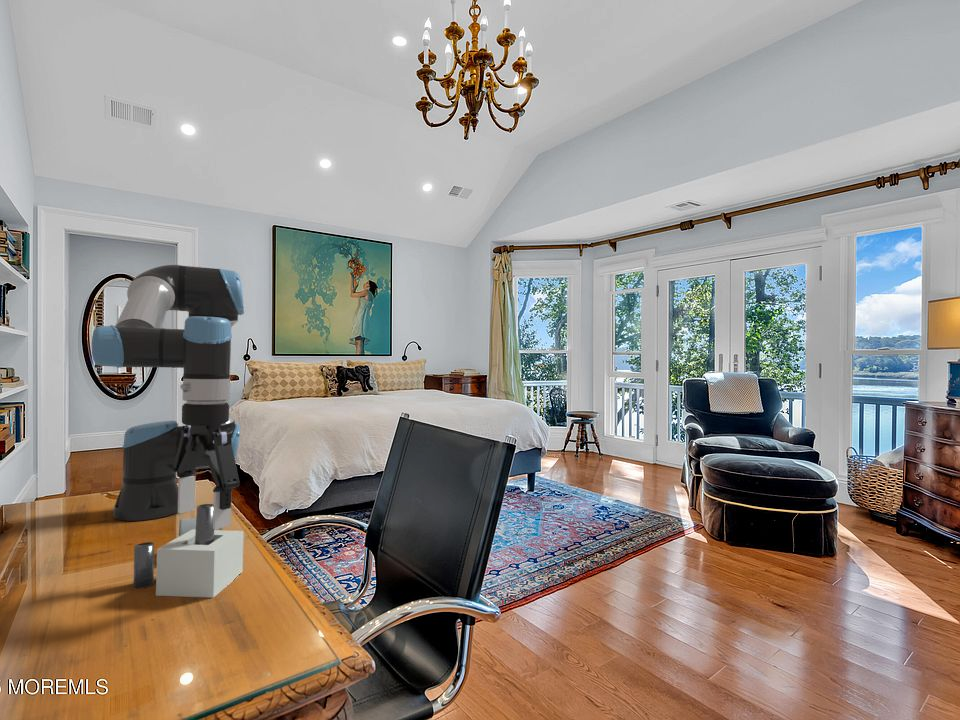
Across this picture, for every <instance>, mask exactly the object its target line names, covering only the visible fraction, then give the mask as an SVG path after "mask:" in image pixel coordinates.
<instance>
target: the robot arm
mask: <svg viewBox="0 0 960 720" xmlns="http://www.w3.org/2000/svg"><path fill="white" fill-rule="evenodd" d="M126 292H127V293H126V295H127V300H126V303H125V306H124V307H123V310H122V311H121V313H120V315H119V317H118V319H117V321H116V323H115V325H112V324H111V325H100V326H97V327H96V328H94V330H93V333H92V336H91V356H92V361H93V362H94V363H95V364H96V365H97V366H99V367H114V368H115V367H116V368H119V369H120V368H171V369H172V368H173V369H175V368H177V369H179V368H180V369H183V374H182V378H183V379H182V384H180V389H181V390H182V400H183V401H185V402H186V403H185V402H184V403H183V405H182V406H181V423H182V424H183V425H182V426H181V425H180V426H179V423H178V422H177V420H164V421H156V422H148V423H142V424H139V425H135V426H131V427H130V428H128V429H127V430H126V431H125V432H124V436H123V445H122V448H123V459H122V460H123V463H122V465H123V466H122V470H123V471H122V484H121V485H122V486H121V488H120V491H119V493H118V496H117V498H116V501H115V504H114V506H113V514H112V515H113V518H114V519H116V520H118V521H127V522H131V521H132V522H135V521H136V522H138V521H149V520H154V519H160V518H164V517H168V516H172V515H175V514H177V513H178V514H182V513H188V512H192V511H195V509H196V508H195V507H196V475H197V474H198V473H197V471H196V470H198V469H199V470H200V469H209V470H210V473H211V475H212V478H213V482H214V484H215V487H213V489H212V492H213V503H212V504H213V529H219V528H223V529H224V528H226V527H230V526H231V525H232V493H233V491H232V490H233V489H234V488H238V487H240V485H241V482H240V478H239V474H238V473H239V472H238V467H237V464H236V458H237V455H238V450H239V444H240V436H241V435H240V434H241V425H240V424H239V423H236V418H235V417H234V416H233V415H232V414H231V413H230V394H231V389H230V388H231V360H232V359H231V357H232V355H231V351H232V348H231V347H232V337H233V335H232V333H233V332H232V327H233V326H235V324H237V322H238V320H239V316H242V315H244V314H245V310H244V307H245V306H244V297H243V296H244V295H243V288H242V280H241V276H240V274H239V273H238V272H236V271H234V270H228V269H224V268H214V267H213V268H212V267H201V266H191V265H181V264H180V265H179V264H167V265H160V266H156V267H154V268H150V269H147V270H146V271H143V272H142V273H140V274H138V275H136V277H134V278H133V279H132V281H131V282H130V284H129V286H128V287H127V290H126ZM168 311H175V312H176V311H179V312H187V313H188V316H187V318H185V320H184V329H182V328H181V329H179V328H163V325H164V322H165V318H166V314H167V312H168ZM177 478H178V480H177ZM177 481H178V483H177Z"/></svg>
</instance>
